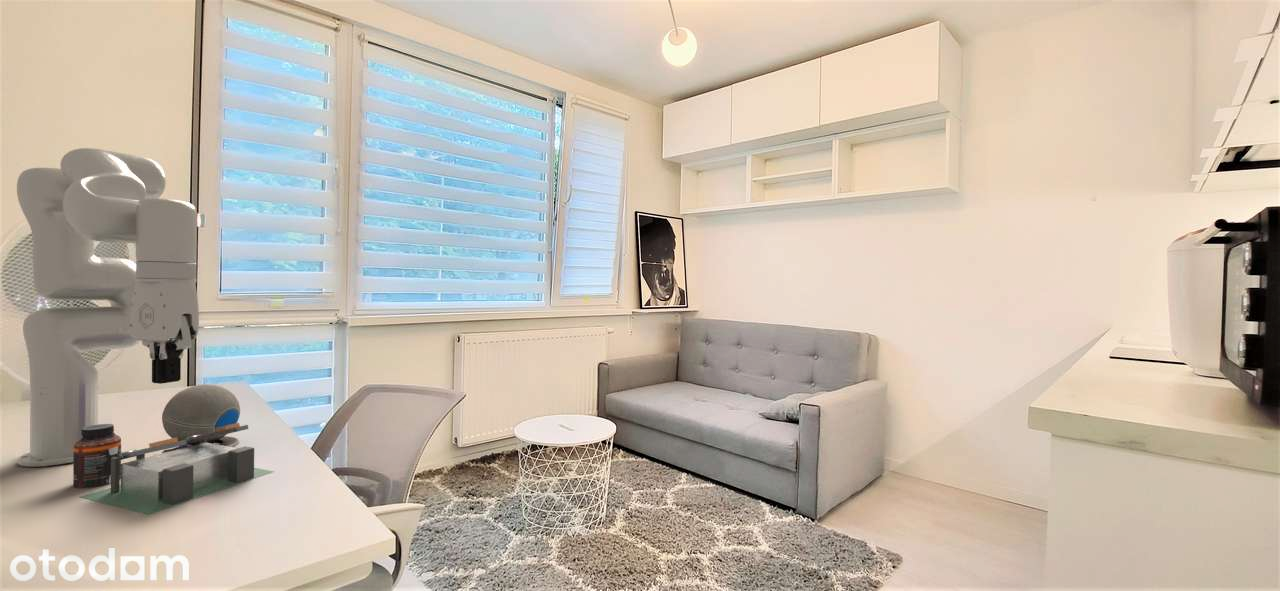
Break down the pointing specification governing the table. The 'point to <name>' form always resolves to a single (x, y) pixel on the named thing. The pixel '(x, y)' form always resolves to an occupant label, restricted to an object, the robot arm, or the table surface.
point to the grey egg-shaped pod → (201, 414)
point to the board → (155, 504)
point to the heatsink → (148, 472)
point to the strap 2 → (217, 432)
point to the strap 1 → (153, 448)
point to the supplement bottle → (95, 456)
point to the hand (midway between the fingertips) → (166, 381)
